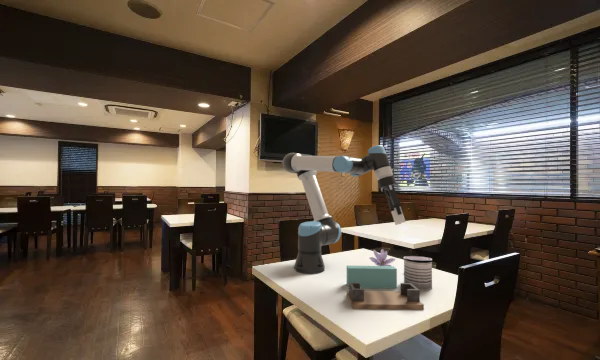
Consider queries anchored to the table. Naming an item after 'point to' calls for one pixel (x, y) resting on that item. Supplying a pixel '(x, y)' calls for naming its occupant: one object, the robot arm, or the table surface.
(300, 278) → the table surface
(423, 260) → the can
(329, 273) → the table surface
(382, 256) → the water lily
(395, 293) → the endcap board
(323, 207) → the robot arm
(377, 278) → the teal rectangular block
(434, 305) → the table surface
